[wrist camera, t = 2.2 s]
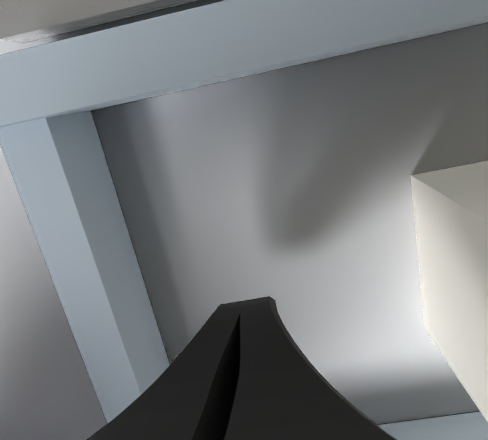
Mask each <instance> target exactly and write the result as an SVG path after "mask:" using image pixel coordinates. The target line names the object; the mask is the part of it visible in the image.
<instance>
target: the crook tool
mask: <svg viewBox="0 0 488 440" xmlns="http://www.w3.org/2000/svg"><path fill="white" fill-rule="evenodd" d="M194 1H198V0H0V39H3V40H9V41H15V42H20V43H26V42H30V41H34V40H38V39H42V38H46V37H50V36H55V35H59V34H63V33H67V32H71V31H75V30H79V29H83V28H87V27H91V26H95V25H100V24H104V23H108V22H112V21H116V20H120V19H124V18H128V17H132V16H136V15H140V14H145V13H149V12H153V11H157V10H161V9H165V8H169V7H173V6H177V5H181V4H186V3H190V2H194Z"/></svg>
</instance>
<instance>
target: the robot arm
mask: <svg viewBox="0 0 488 440" xmlns="http://www.w3.org/2000/svg"><path fill="white" fill-rule="evenodd" d="M87 440H397V439H395V438H394V437H392V436H391V435H390V434H388V433H387V432H385V431H384V430H383V429H382V428H380V427H379V426H378V425H377V424H375V423H374V422H373V421H372V420H370V419H369V418H368V417H367V416H365V415H364V414H363V413H362V412H360V411H359V410H358V409H357V408H355V407H354V406H353V405H352V404H351V403H349V402H348V401H347V400H346V399H345V398H344V397H343V396H342V395H341V394H340V393H339V392H338V391H336V390H335V389H334V388H333V387H332V386H331V385H330V384H329V383H328V382H327V381H326V379H325V378H324V377H323V376H322V375H321V374H320V373H319V372H318V371H317V370H316V369H315V367H314V366H313V365H312V364H311V363H310V362H309V360H308V359H307V358H306V357H305V355H304V354H303V353H302V351H301V350H300V349H299V347H298V346H297V345H296V343H295V342H294V340H293V339H292V337H291V336H290V334H289V333H288V331H287V329H286V328H285V326H284V324H283V323H282V321H281V318H280V316H279V314H278V312H277V307H276V302H275V300H274V299H273V298H271V297H270V296H269V297H263V298H257V299H251V300H245V301H239V302H233V303H227V304H221V305H220V306H219V307H218V308H217V309H216V310H215V312H214V313H213V314H212V315H211V317H210V318H209V319H208V320H207V322H206V323H205V324H204V326H203V327H202V328H201V329H200V331H199V332H198V333H197V334H196V336H195V337H194V338H193V339H192V340H191V342H190V343H189V344H188V345H187V347H186V348H185V349H184V350H183V351H182V352H181V354H180V355H179V356H178V357H177V358H176V359H175V360H174V361H173V362H172V363H171V364H170V366H169V367H168V368H167V369H166V370H165V371H164V372H163V373H162V374H161V375H160V376H159V378H158V379H157V380H156V381H155V382H154V383H153V384H152V385H151V386H150V387H149V388H148V389H146V390H145V391H144V392H143V393H142V394H141V395H140V396H139V397H138V398H137V399H136V400H135V401H133V402H132V403H131V404H130V405H129V406H128V407H127V408H126V409H125V410H123V411H122V412H121V413H120V414H119V415H118V416H116V417H115V418H114V419H113V420H111V421H110V422H109V423H108V424H106V425H105V426H104V427H102V428H101V429H100V430H99V431H97V432H96V433H95V434H93V435H92V436H91V437H90V438H88V439H87Z"/></svg>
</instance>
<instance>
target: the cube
mask: <svg viewBox="0 0 488 440" xmlns="http://www.w3.org/2000/svg"><path fill="white" fill-rule="evenodd" d="M411 185H412V196H413V207H414V218H415V229H416V240H417V251H418V263H419V274H420V285H421V296H422V307H423V318H424V329H425V330H426V332H427V333H428V335H429V336H430V338H431V339H432V341H433V342H434V343H435V345H436V346H437V348H438V349H439V351H440V352H441V354H442V355H443V357H444V358H445V360H446V361H447V363H448V364H449V366H450V367H451V369H452V370H453V372H454V373H455V375H456V376H457V378H458V379H459V381H460V382H461V384H462V385H463V386H464V388H465V389H466V391H467V392H468V394H469V395H470V397H471V398H472V400H473V401H474V403H475V404H476V406H477V407H478V409H479V410H480V412H481V413H482V415H483V416H484V418H485V419H486V421H487V422H488V161H483V162H478V163H472V164H467V165H462V166H457V167H452V168H446V169H441V170H436V171H431V172H425V173H420V174H415V175H411Z"/></svg>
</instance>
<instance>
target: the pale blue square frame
mask: <svg viewBox="0 0 488 440" xmlns="http://www.w3.org/2000/svg"><path fill="white" fill-rule="evenodd" d="M487 22H488V0H224V1H220V2H216V3H212V4H208V5H204V6H200V7H196V8H191V9H187V10H183V11H179V12H175V13H171V14H167V15H163V16H158V17H154V18H150V19H146V20H142V21H138V22H134V23H130V24H125V25H121V26H117V27H113V28H109V29H105V30H101V31H97V32H93V33H88V34H84V35H80V36H76V37H72V38H68V39H64V40H60V41H55V42H51V43H47V44H43V45H39V46H35V47H31V48H27V49H23V50H18V51H14V52H10V53H6V54H2V55H0V145H1V148H2V150H3V153H4V156H5V158H6V161H7V164H8V166H9V169H10V171H11V174H12V177H13V179H14V182H15V184H16V187H17V190H18V192H19V195H20V197H21V200H22V203H23V205H24V208H25V210H26V213H27V216H28V218H29V221H30V223H31V226H32V229H33V231H34V234H35V236H36V239H37V242H38V244H39V247H40V249H41V252H42V255H43V257H44V260H45V262H46V265H47V268H48V270H49V273H50V275H51V278H52V281H53V283H54V286H55V288H56V291H57V294H58V296H59V299H60V301H61V304H62V307H63V309H64V312H65V315H66V317H67V320H68V322H69V325H70V328H71V330H72V333H73V335H74V338H75V341H76V343H77V346H78V348H79V351H80V354H81V356H82V359H83V361H84V364H85V367H86V369H87V372H88V374H89V377H90V380H91V382H92V385H93V387H94V390H95V393H96V395H97V398H98V400H99V403H100V406H101V408H102V411H103V413H104V416H105V419H106V421H107V424H108V423H109V422H110V421H111V420H113V419H114V418H115V417H116V416H118V415H119V414H120V413H121V412H122V411H123V410H125V409H126V408H127V407H128V406H129V405H130V404H131V403H132V402H133V401H135V400H136V399H137V398H138V397H139V396H140V395H141V394H142V393H143V392H144V391H145V390H146V389H148V388H149V387H150V386H151V385H152V384H153V383H154V382H155V381H156V380H157V379H158V378H159V376H160V375H161V374H162V373H163V372H164V371H165V370H166V369H167V368H168V367H169V366H170V364H169V361H168V358H167V354H166V351H165V348H164V345H163V342H162V338H161V335H160V332H159V329H158V325H157V322H156V319H155V316H154V313H153V309H152V306H151V303H150V300H149V297H148V293H147V290H146V287H145V284H144V280H143V277H142V274H141V271H140V268H139V264H138V261H137V258H136V255H135V252H134V248H133V245H132V242H131V239H130V235H129V232H128V229H127V226H126V223H125V219H124V216H123V213H122V210H121V206H120V203H119V200H118V197H117V194H116V190H115V187H114V184H113V181H112V178H111V174H110V171H109V168H108V165H107V161H106V158H105V155H104V152H103V149H102V145H101V142H100V139H99V136H98V133H97V129H96V126H95V123H94V120H93V116H92V113H91V111H92V110H96V109H101V108H105V107H110V106H114V105H119V104H123V103H128V102H132V101H137V100H141V99H146V98H150V97H155V96H159V95H164V94H168V93H173V92H177V91H182V90H186V89H191V88H195V87H200V86H204V85H209V84H213V83H218V82H222V81H227V80H231V79H236V78H240V77H245V76H249V75H254V74H258V73H263V72H267V71H272V70H276V69H281V68H285V67H290V66H294V65H299V64H303V63H308V62H312V61H316V60H321V59H325V58H330V57H334V56H339V55H343V54H348V53H352V52H357V51H361V50H366V49H370V48H375V47H379V46H384V45H388V44H393V43H397V42H402V41H406V40H411V39H415V38H420V37H424V36H429V35H433V34H438V33H442V32H447V31H451V30H456V29H460V28H465V27H469V26H474V25H478V24H483V23H487ZM378 426H379V427H380V428H382V429H383V430H384V431H385V432H387V433H388V434H390V435H391V436H392V437H394V438H395V439H397V440H488V422H487V421H486V419H485V418H484V416H483V415H482V413H481V412H473V413H465V414H458V415H450V416H443V417H435V418H427V419H420V420H412V421H405V422H397V423H389V424H382V425H378Z"/></svg>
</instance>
